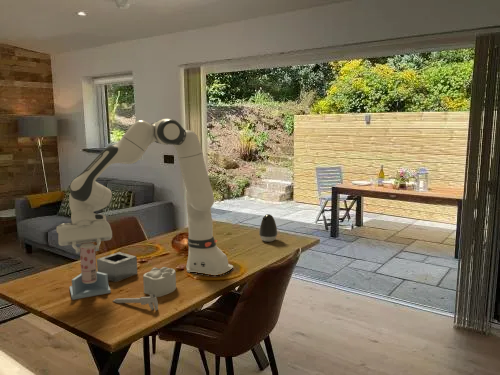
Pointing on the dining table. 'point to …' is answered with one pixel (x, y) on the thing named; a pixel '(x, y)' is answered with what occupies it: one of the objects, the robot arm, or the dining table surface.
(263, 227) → the dark grey egg shape
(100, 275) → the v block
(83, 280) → the beverage can
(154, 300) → the caliper
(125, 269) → the pocket block
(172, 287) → the lumpy-topped squat cylinder
